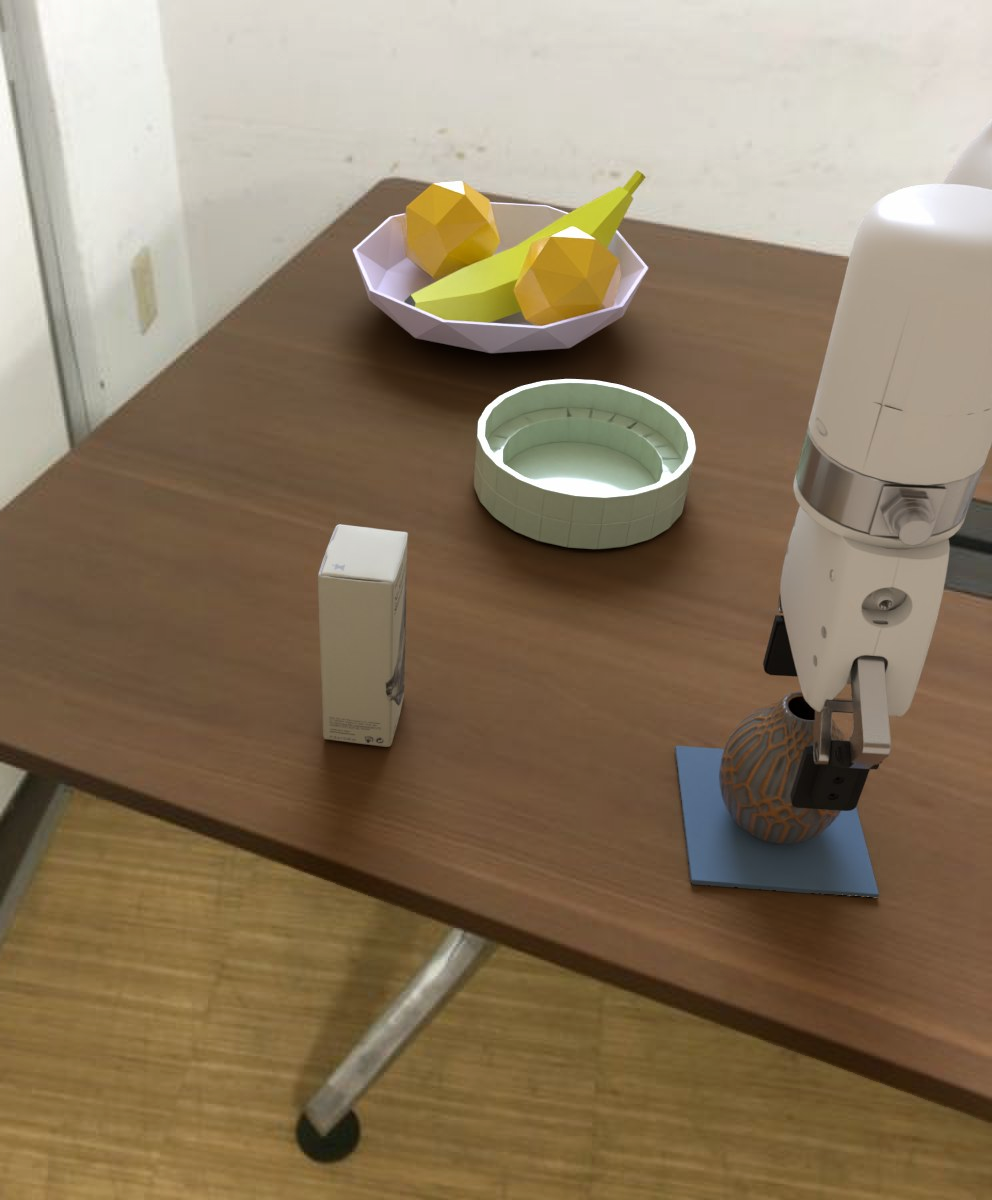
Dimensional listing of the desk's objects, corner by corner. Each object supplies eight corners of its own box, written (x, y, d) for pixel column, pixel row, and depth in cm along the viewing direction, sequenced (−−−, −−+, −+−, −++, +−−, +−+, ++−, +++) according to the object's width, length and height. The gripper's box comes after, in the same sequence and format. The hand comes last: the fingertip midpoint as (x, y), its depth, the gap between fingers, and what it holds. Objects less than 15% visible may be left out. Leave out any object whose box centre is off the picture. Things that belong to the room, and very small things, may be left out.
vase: (726, 755, 75) (756, 647, 69) (844, 794, 72) (884, 686, 67) (695, 836, 70) (724, 727, 64) (820, 881, 67) (861, 772, 62)
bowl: (674, 438, 102) (684, 385, 99) (694, 560, 90) (706, 503, 86) (477, 426, 103) (480, 373, 100) (469, 546, 90) (473, 489, 87)
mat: (842, 761, 75) (843, 757, 75) (877, 899, 67) (879, 894, 67) (674, 749, 75) (675, 745, 75) (690, 884, 68) (691, 879, 67)
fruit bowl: (390, 403, 105) (393, 278, 98) (336, 265, 126) (334, 153, 118) (700, 373, 110) (724, 252, 103) (599, 244, 130) (613, 136, 123)
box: (391, 751, 75) (395, 586, 67) (320, 741, 75) (315, 577, 67) (406, 691, 79) (411, 528, 71) (338, 682, 79) (335, 519, 71)
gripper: (1030, 601, 49) (914, 870, 60) (925, 376, 62) (845, 631, 73) (836, 591, 50) (756, 860, 61) (772, 371, 63) (716, 625, 74)
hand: (805, 735), depth 67 cm, fingers open, 9 cm apart
